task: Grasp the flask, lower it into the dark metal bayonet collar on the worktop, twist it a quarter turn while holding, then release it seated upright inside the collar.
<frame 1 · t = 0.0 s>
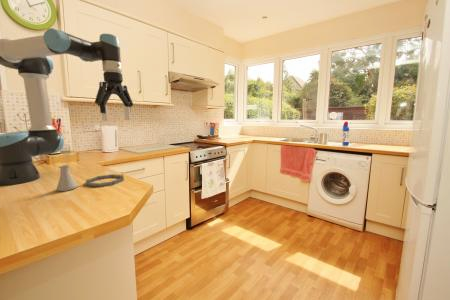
hand: (117, 120, 98), 28 cm above the worktop, fingers open, 13 cm apart
collar: (105, 181, 99), on the worktop
flask: (67, 189, 89), on the worktop
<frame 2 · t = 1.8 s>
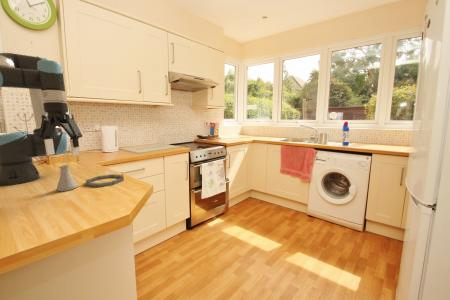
hand: (62, 155, 87), 15 cm above the worktop, fingers open, 13 cm apart
nothing on the worktop moved.
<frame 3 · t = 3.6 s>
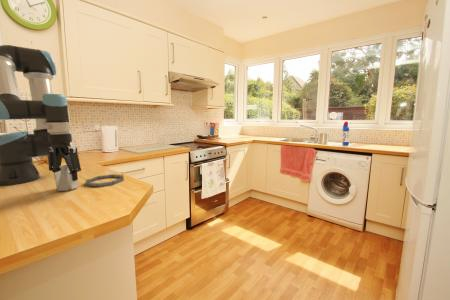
hand: (67, 187, 89), 1 cm above the worktop, fingers closed on flask, 7 cm apart
flask: (67, 189, 89), on the worktop, touching gripper
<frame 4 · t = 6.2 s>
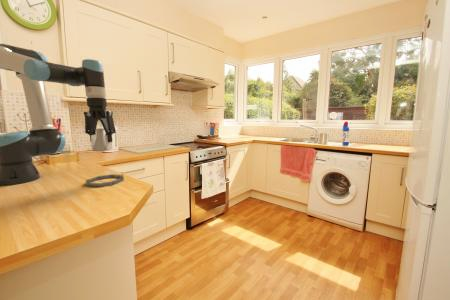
hand: (102, 149, 96), 15 cm above the worktop, fingers closed on flask, 7 cm apart
flask: (102, 151, 96), point 14 cm above the worktop, touching gripper
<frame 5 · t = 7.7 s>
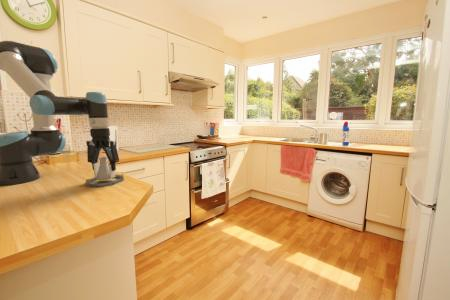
hand: (105, 177, 98), 2 cm above the worktop, fingers closed on flask, 7 cm apart
flask: (105, 178, 98), point 1 cm above the worktop, touching gripper
when the fingers open (2 cm above the worktop, at t = 9.0 s): flask drops 2 cm, resting in collar.
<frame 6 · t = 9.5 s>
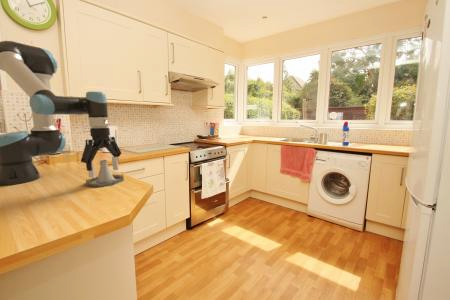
hand: (104, 173, 98), 4 cm above the worktop, fingers open, 13 cm apart
flask: (105, 182, 99), resting in collar
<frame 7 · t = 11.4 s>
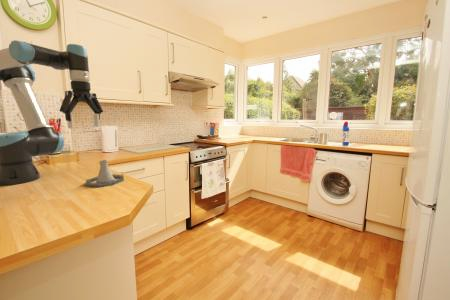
hand: (85, 127, 101), 25 cm above the worktop, fingers open, 13 cm apart
nothing on the worktop moved.
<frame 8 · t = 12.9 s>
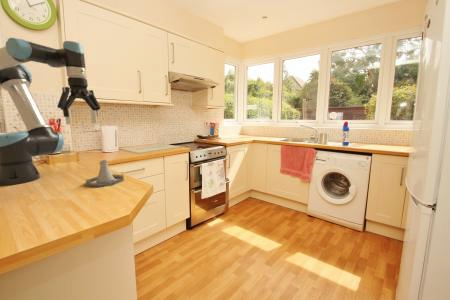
hand: (83, 123, 102), 27 cm above the worktop, fingers open, 13 cm apart
nothing on the worktop moved.
at the end: flask 0.0 cm from the collar (horizontally); flask tilted 0°; the gripper is holding nothing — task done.
